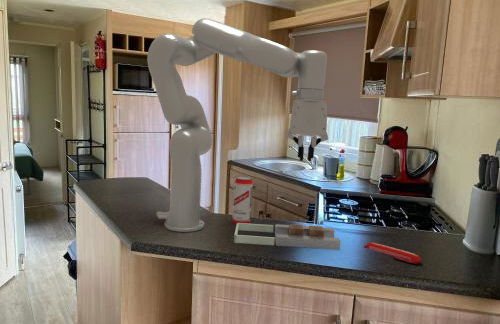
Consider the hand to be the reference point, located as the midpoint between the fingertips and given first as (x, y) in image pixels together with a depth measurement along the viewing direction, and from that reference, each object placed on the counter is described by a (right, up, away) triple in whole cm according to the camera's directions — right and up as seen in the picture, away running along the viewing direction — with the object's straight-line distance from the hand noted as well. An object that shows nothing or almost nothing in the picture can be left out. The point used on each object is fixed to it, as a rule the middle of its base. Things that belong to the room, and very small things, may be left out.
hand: (305, 159), depth 114 cm
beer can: (-19, -22, +18) cm, 34 cm away
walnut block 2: (+4, -24, +3) cm, 25 cm away
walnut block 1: (-2, -24, +4) cm, 24 cm away
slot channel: (0, -25, +4) cm, 25 cm away
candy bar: (+24, -28, -3) cm, 37 cm away
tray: (-15, -24, +4) cm, 28 cm away
